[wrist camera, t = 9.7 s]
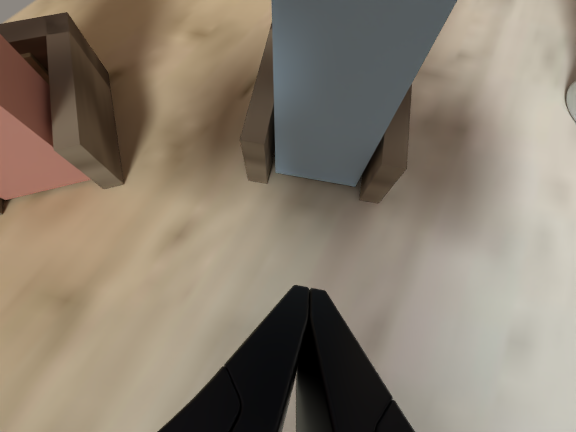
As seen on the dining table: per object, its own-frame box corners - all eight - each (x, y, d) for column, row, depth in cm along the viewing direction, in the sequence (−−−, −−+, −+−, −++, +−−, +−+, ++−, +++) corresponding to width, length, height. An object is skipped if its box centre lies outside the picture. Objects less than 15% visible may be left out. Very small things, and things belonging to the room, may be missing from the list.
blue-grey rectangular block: (355, 186, 19) (463, -12, 8) (275, 172, 19) (270, -41, 8) (361, 132, 21) (462, -104, 9) (287, 119, 21) (296, -128, 9)
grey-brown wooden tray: (123, 184, 19) (79, 144, 15) (-20, 219, 18) (-110, 187, 14) (107, 72, 22) (67, 12, 18) (-17, 97, 21) (-92, 40, 17)
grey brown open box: (378, 203, 19) (406, 168, 15) (248, 180, 20) (239, 139, 15) (388, 87, 22) (415, 31, 18) (275, 69, 23) (275, 9, 18)
